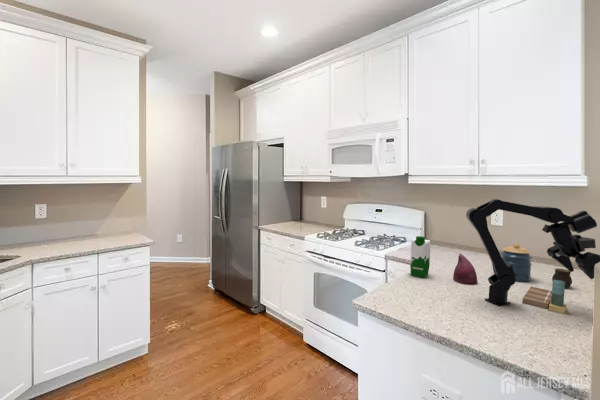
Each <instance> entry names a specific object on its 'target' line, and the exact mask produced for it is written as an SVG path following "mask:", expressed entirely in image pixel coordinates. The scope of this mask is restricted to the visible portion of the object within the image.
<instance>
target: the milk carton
mask: <svg viewBox="0 0 600 400" xmlns="http://www.w3.org/2000/svg"><path fill="white" fill-rule="evenodd" d="M425 238H426V237H425V236H420V235H418V236H416V237H415V238H413V239H412V240H411V242H410V243H411V245H410V246H411V247H410V263H409V264H410V266H409V267H410V276H411V277H417V278H422V279H426V278H427V276H428V275H429V270H430V264H431V263H430V262H431V240H430V239H425Z"/></svg>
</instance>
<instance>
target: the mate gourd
mask: <svg viewBox="0 0 600 400" xmlns="http://www.w3.org/2000/svg"><path fill="white" fill-rule="evenodd" d="M573 269H575V267H573ZM571 273H572V272H570V271H569V270H568V269H567V268H554V274H553V275H552V276H551V277H552V278H551V282H553V280H561V281H564V282H565V289H569V288H570V287H571V285H573V280H572V277H571Z"/></svg>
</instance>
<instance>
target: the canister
mask: <svg viewBox="0 0 600 400" xmlns="http://www.w3.org/2000/svg"><path fill="white" fill-rule="evenodd" d="M502 250H503V251H502V252H500V255H501V257H502V259H503V261H504V262H505V263H506V262H508V263H509V264H510V265H511V266H512V267H513V271H514V273H515V274H516V275H517V276H515V277H516V282H520V283H526V282H530V281H531V273H532V272H531V270H532V264H533V263H532V262H531V259H532V258H533V257H532V255H530V254H531V251H530V250H528V249H527V248H525V247H521V246H520V244H519V243H514V244H513V246H508V245H507V246H506V247H503V248H502Z"/></svg>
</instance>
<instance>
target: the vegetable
mask: <svg viewBox="0 0 600 400" xmlns="http://www.w3.org/2000/svg"><path fill="white" fill-rule="evenodd" d="M457 259H458V260H457V262H456V263H457V264H456V265H455V268H454V272H453V278H452V280H453V281H454V282H456V283H459V284H462V285H468V286H470V285H471V286H472V285H473V286H474V285H477V284H478V277H477V272H476V268H475V267H474V265H473V264H472V263H471V262H470V260H469V259H468V258H467V257H466V256H465V255H464V254H462V253H461V252H459V254H458V258H457Z"/></svg>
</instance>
